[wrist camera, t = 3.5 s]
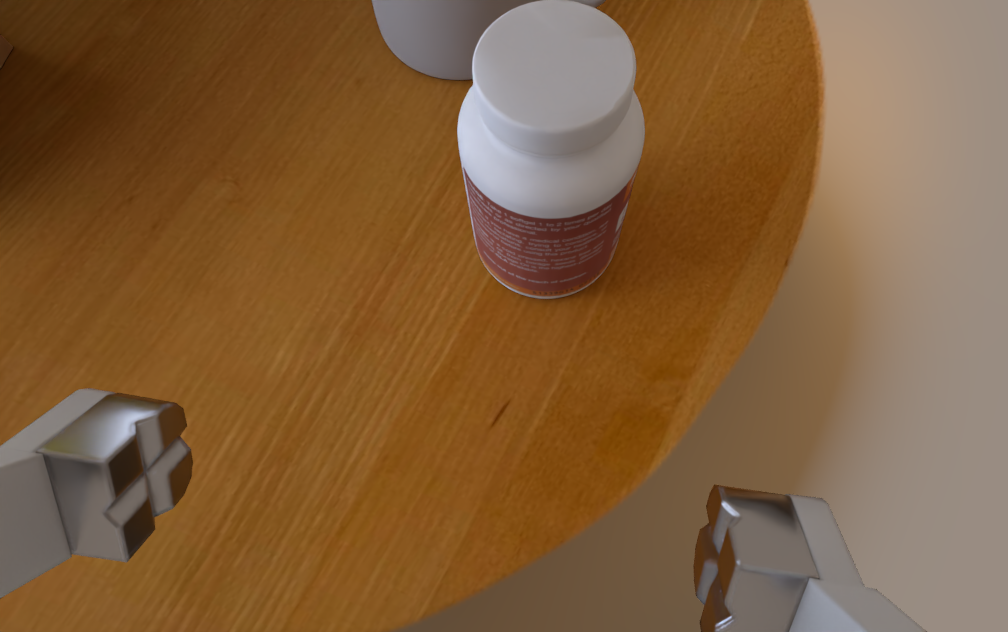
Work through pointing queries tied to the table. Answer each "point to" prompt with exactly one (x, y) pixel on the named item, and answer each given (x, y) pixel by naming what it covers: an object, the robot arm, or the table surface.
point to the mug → (441, 31)
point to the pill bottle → (550, 145)
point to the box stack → (4, 50)
